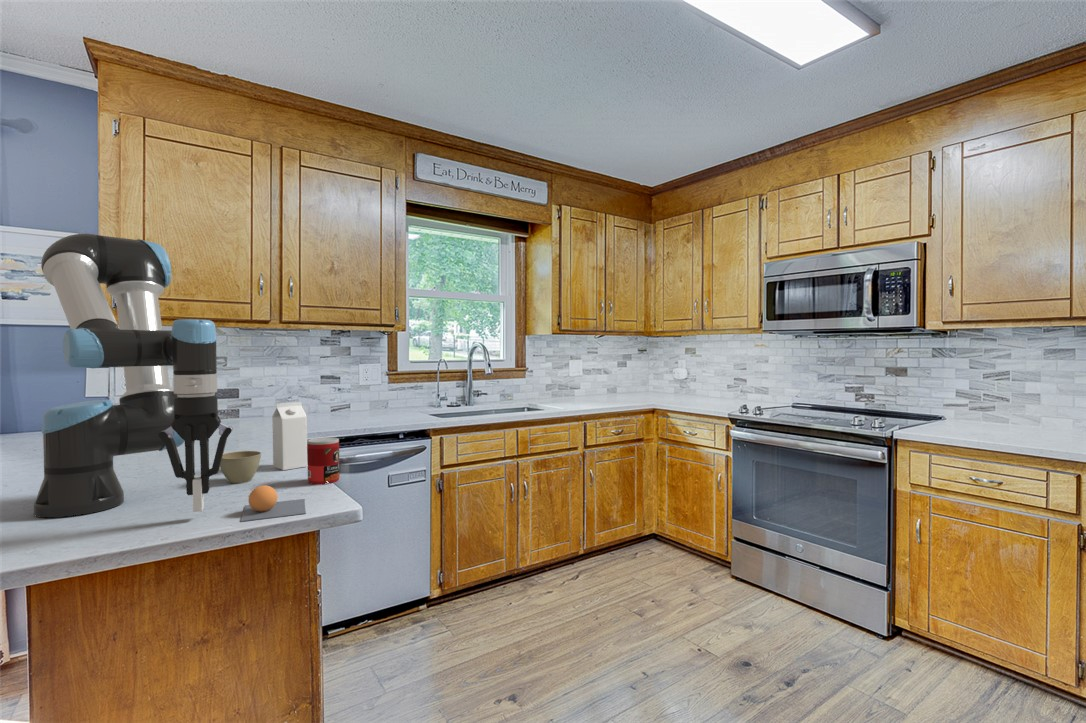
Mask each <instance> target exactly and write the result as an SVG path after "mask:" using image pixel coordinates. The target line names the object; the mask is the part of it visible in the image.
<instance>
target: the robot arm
mask: <svg viewBox="0 0 1086 723" xmlns="http://www.w3.org/2000/svg"><path fill="white" fill-rule="evenodd" d="M40 263H41V264H40V266H41V271H42V275H43V276H44V279H45V280H46V281H47V282H48V283H49V284H50V285H52V286H53V287H54V289H55V292H56V294H57V297H58V299H59V302H60V306H61V307H62V310H63V312H64V316H65V317H66V320H67V322H68V325H69V329H68V330H66V331H65V332H64V335H63V339H62V352H63V358H64V362H65V363H66V364H67V366H69V367H72V368H89V369H99V368H101V369H103V368H123V371H124V372H123V373H124V380H125V392H124V393H123V394H122V395H121V396H120V397H119V398H118V400H119V404H114V403H113V402H112V400H111V399H106V398H105V399H104V398H103V399H94V400H86V401H85V400H84V401H80V402H79V401H78V402H74V403H68V404H62V405H58V406H54V407H51V408H49V409H48V410H45V413H43V417H42V429H41V434H42V441H43V442H42V444H43V473H44V474H43V480H42V483H41V485H40V488H39V490H38V492H37V496H36V498H35V501H34V504H33V515H34V514H35V515H36V516H35V515H34V516H35V517H37V516H40V517H39V518H44V517H55V518H64V517H63V516H68V517H75V515H76V516H81V514H83V515H88V514H92V513H93V512H94V513H98V512H101V511H105V510H109V509H112V508H115V507H118V506H119V505H122V504H123V503H124V502H125V493H124V492H125V491H124V490H123V488H122V485H121V482H120V481H119V479H118V476H117V474H116V472H115V470H114V457H117V456H125V455H133V454H134V455H135V454H141V453H147V452H148V453H149V452H155V451H156V452H157V451H159V452H162V451H167V455H168V457H169V461H170V464H171V468H172V470H173V473H174V476H175V477H176V478H177V479H179V478H180V479H184V480H185V483H186V484H185V485H186V486H185V487H186V489H185V490H186V495H187V496H192V509H193V513H197V512H203V510H204V507H205V504H204V501H205V500H204V499H205V498H204V495H205V494H208V493H209V491H210V477H211V476H215V475H218V472H219V471H220V469H221V468H220V465H221V461H222V457H223V454H225V453H224V452H225V448H226V445H227V440H228V438H229V436H230V434H231V433H232V432H233V429H234V428H233V427H232V426H231V425H230V426H227V425H226V424H224V423H222V421H221V418H220V417H219V415H218V414H219V412H218V410H219V408H218V407H219V405H218V396H217V395H215V394H216V393H217V392H218V373H217V371H218V370H217V340H218V336H217V331H216V325H215V322H214V321H212V320H211V319H197V318H196V319H193V318H189V319H187V318H186V319H183V318H181V319H180V318H178V319H175V320H174V321H173V322H172V326H171V330H169V329H168V330H166V329H165V330H163V324H162V316H161V309H160V300H159V298H160V297H161V296H162V295H163V294H164V293H165V288H167V287H169V285H170V283H171V281H172V264H171V261H170V257H169V255H168V253H167V251H166V249H165V248H164V246H162V245H161V244H159V243H157V242H153V241H147V240H144V239H139V238H138V239H131V238H124V237H115V236H107V235H100V234H99V235H98V234H93V233H76V234H71V235H68V236H64V237H62V238H59V239H58V240H56V241H55V242H53V243H52V244H51V245H49V246H48V248H46V250H45V251H44V253H43V255H42V258H41V262H40ZM101 284H102V285H105V286H106V291H107V294H108V295H109V296H111V297H113V298H114V299H115V302H116V311H117V319H118V321H117V320H116V317H115V315H114V312H113V311H112V309H111V306H110V303H109V302H108V299H107V297H106V296H105V294H104V292H103V289H102V287H101ZM169 366H170V367H172V371H173V372H172V374H173V377H172V378H173V379H172V380H173V383H172V384H173V387H171V386H170V380H169V378H170V377H169V371H168V367H169ZM216 430H218V435H220V437H219V440H218V442H217V447H216V451H215V454H214V459H213V462H212V467H211V468H210V451H209V450H210V448H209V447H210V446H209V444H210V438H211V437H213V435H214V433H215V432H216ZM195 441H199V450H200V451H199V453H200V454H199V455H200V457H199V458H200V476H196V471H195V465H196V463H195ZM181 445H184V454H185V455H184V456H185V469H184V466H183V464H182V460H181V457H180V454H179V451H178V447H180V446H181ZM73 515H74V516H73Z"/></svg>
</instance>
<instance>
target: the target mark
mask: <svg viewBox="0 0 1086 723" xmlns="http://www.w3.org/2000/svg"><path fill="white" fill-rule="evenodd" d="M306 514H307V512H306V502H305V498H298V499H291V500H282V501H277V502H276V504H275V505H274V506H273V507H272V508H271V509H270V510H268V511H264V512H258V511H255V510H253V509H252V508H251V507H250V505H249V504H248V505H244V508H243V512H242V516H241V520H240V523H242V522H251V521H258V520H259V521H260V520H268V519H269V520H270V519H274V518H276V519H277V518H285V517H291V516H292V517H293V516H301V515H306Z"/></svg>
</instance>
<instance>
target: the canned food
mask: <svg viewBox="0 0 1086 723" xmlns="http://www.w3.org/2000/svg"><path fill="white" fill-rule="evenodd" d="M307 465H308V466H307V481H308V483H309V484H310V483H312V484H311V485H315V484H322V485H326V484H325V483H327V482H326V481H328V482H329V483H330V484H335V483H336V482H337V483H338V481H339V480H340V473H341V472H340V439H339V438H337V437H331V436H328V437H327V436H326V437H324V436H323V437H315V438H311V439H307Z"/></svg>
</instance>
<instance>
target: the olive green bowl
mask: <svg viewBox="0 0 1086 723" xmlns="http://www.w3.org/2000/svg"><path fill="white" fill-rule="evenodd" d="M261 456H262V452H261V451H256V450H240V451H232V452H226V453H223V457H222V461H221V465H220V468H219V469H220V470H221V472H222V474H223V476H224V477H225V479H226V480H227V482H228V483H230V484H243V483H248V482H250V481H252V479H253V478H254V476H255V475H256V473H257V470H258V468H259V466H260V461H261V458H262V457H261Z"/></svg>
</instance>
